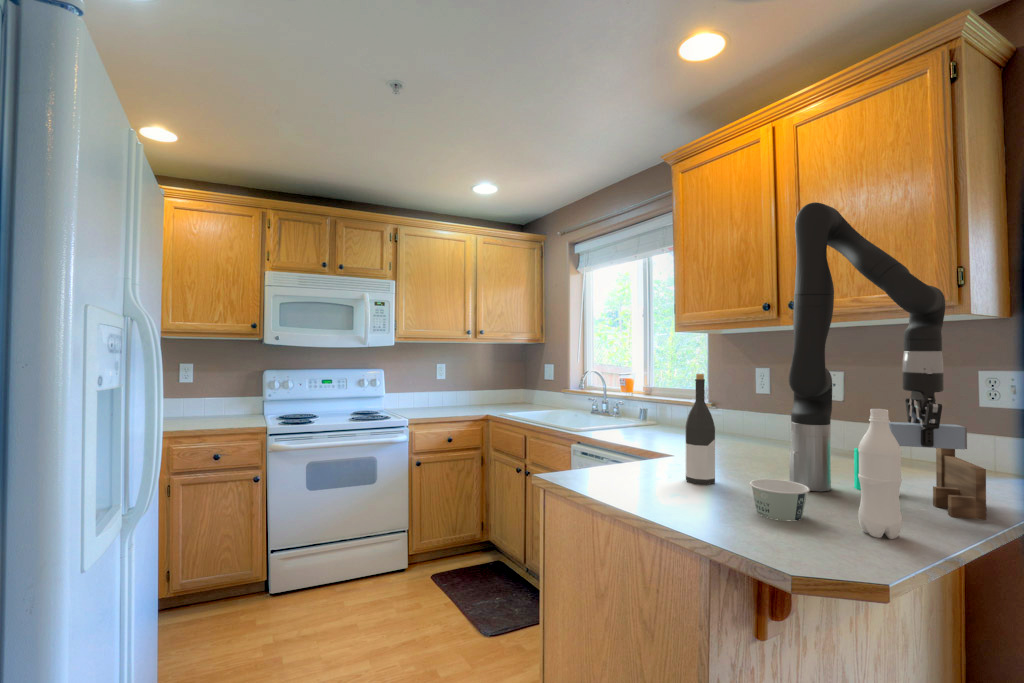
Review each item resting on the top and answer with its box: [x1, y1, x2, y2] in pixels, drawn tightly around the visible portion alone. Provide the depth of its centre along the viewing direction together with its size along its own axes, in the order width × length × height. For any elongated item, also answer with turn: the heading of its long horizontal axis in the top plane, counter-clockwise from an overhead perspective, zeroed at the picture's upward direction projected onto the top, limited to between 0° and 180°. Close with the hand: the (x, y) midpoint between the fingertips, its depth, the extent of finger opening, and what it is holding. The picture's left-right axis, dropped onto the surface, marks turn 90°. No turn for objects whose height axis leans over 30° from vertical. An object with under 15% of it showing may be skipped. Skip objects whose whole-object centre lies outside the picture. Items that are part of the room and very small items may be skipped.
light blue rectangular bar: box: [889, 421, 968, 450], centre depth 123 cm, size 14×4×5 cm, turn 71°
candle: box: [853, 447, 861, 491], centre depth 140 cm, size 6×6×12 cm
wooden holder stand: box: [932, 448, 987, 521], centre depth 125 cm, size 7×18×13 cm, turn 162°
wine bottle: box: [685, 373, 716, 486], centre depth 148 cm, size 8×8×30 cm
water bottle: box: [857, 408, 903, 540], centre depth 106 cm, size 7×7×25 cm
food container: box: [749, 478, 811, 521], centre depth 119 cm, size 12×12×6 cm
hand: (922, 444), depth 123 cm, fingers closed on light blue rectangular bar, 4 cm apart
